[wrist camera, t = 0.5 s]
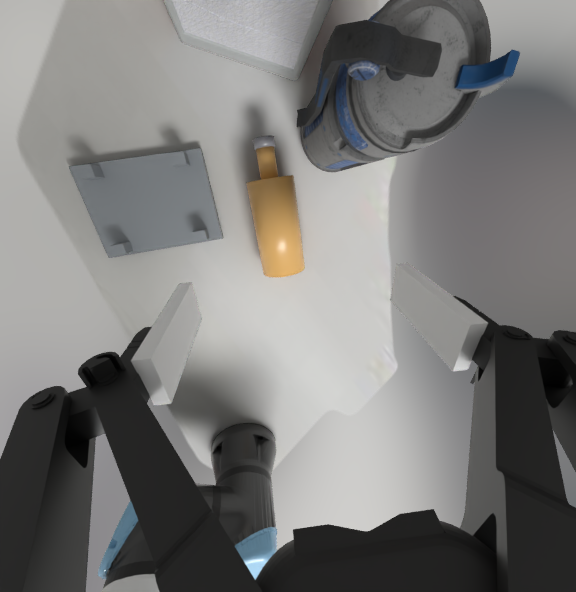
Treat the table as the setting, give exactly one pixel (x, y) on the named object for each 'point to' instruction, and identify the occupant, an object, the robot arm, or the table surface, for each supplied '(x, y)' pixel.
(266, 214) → the amber bottle
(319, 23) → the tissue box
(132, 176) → the u rest
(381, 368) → the table surface
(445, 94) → the smoke grenade
